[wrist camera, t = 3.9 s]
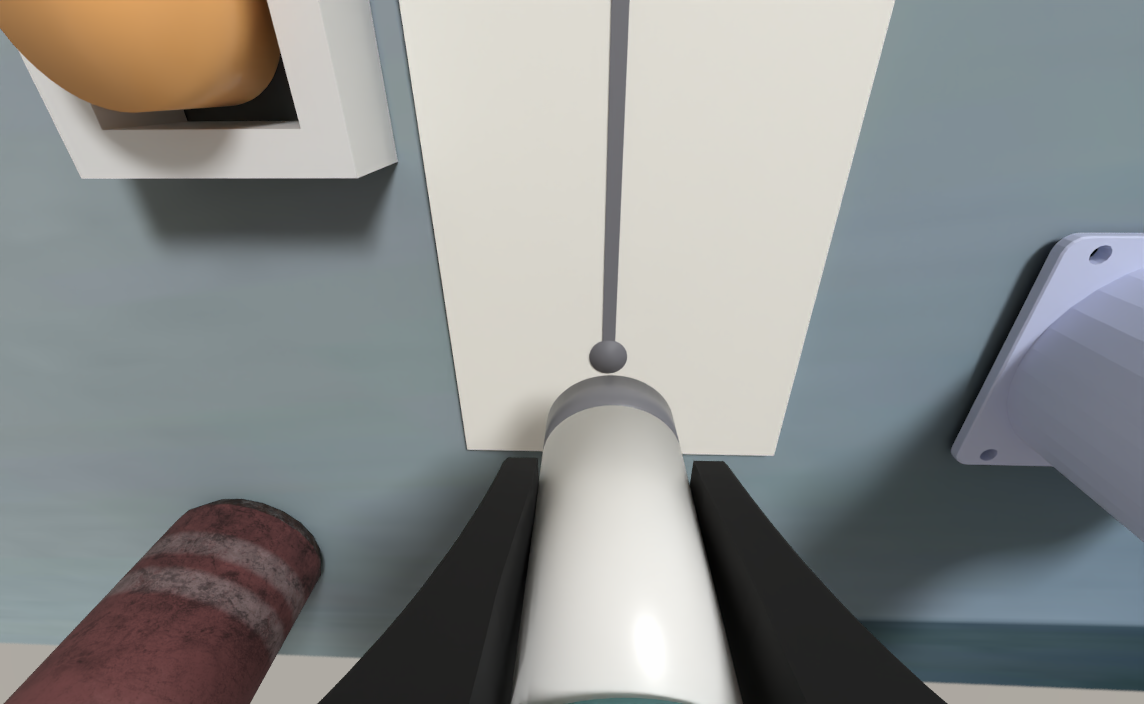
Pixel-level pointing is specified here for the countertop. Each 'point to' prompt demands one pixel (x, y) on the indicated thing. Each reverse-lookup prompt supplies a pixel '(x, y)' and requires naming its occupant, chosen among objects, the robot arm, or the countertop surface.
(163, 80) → the button
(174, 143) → the button housing
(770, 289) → the paper
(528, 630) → the marker
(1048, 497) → the countertop surface
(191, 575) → the can
